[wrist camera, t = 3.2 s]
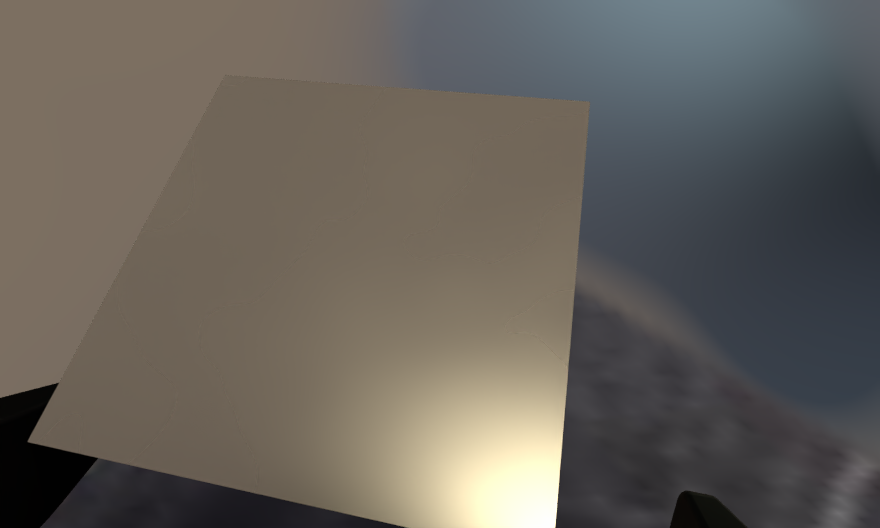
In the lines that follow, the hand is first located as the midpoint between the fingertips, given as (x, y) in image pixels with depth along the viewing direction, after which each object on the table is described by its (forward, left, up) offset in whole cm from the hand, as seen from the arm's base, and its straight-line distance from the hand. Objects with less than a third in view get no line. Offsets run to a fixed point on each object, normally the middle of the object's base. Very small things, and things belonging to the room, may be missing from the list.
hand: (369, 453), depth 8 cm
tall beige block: (0, +2, -9) cm, 9 cm away
